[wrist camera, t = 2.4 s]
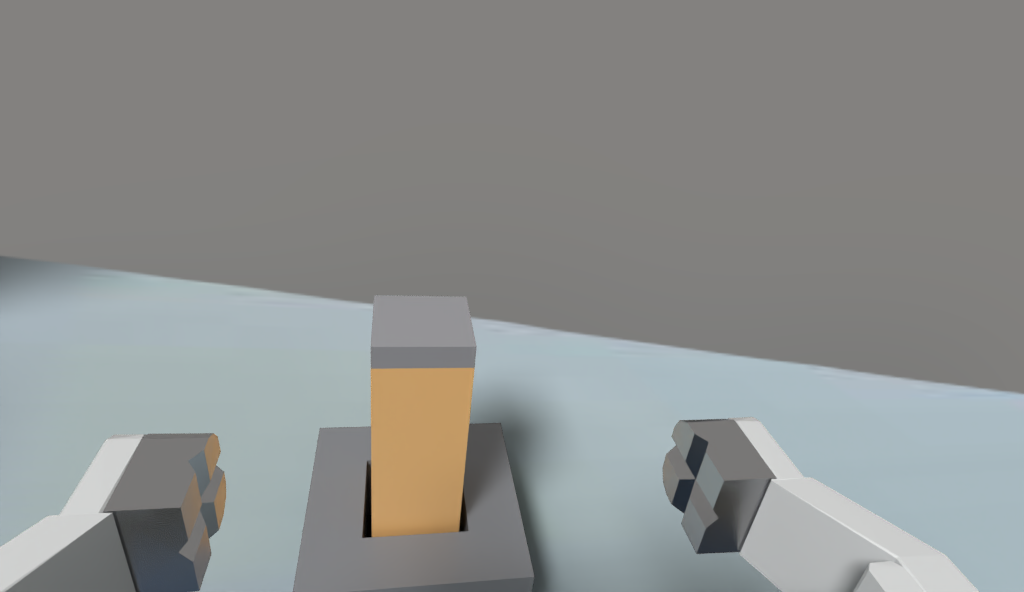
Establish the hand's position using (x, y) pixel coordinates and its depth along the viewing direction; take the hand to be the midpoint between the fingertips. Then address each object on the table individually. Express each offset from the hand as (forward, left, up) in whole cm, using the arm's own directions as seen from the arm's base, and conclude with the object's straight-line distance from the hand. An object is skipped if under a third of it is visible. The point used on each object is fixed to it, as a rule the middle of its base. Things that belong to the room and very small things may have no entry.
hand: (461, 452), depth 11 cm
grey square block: (0, +13, -19) cm, 23 cm away
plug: (0, +13, -19) cm, 23 cm away
